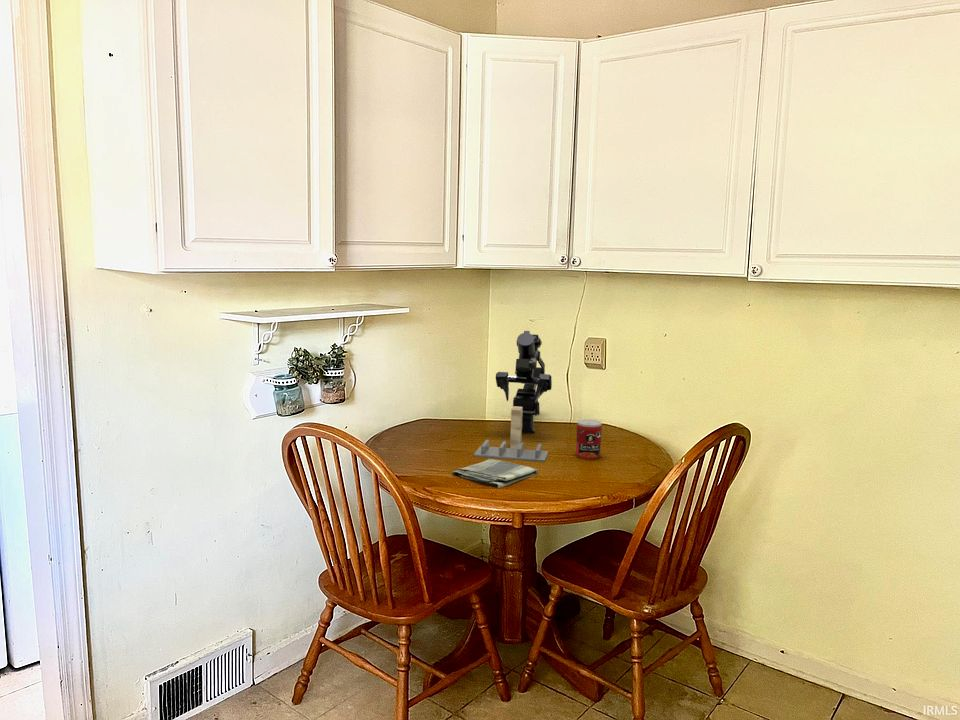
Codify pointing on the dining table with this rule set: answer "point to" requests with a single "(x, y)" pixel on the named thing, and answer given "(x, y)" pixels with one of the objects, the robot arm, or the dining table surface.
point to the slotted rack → (511, 452)
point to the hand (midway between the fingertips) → (520, 401)
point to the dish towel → (495, 472)
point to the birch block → (516, 427)
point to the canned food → (588, 439)
